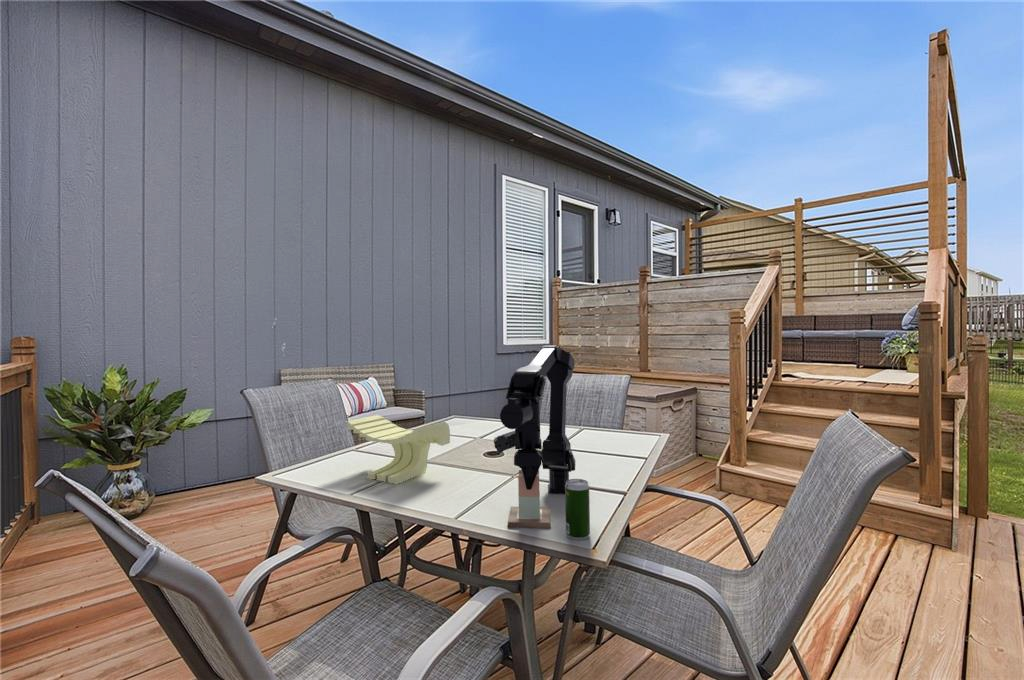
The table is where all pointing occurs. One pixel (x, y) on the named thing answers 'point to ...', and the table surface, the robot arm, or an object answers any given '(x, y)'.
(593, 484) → the table surface
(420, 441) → the slatted curved stool
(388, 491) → the table surface
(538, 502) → the brick sage
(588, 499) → the beer can
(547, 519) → the tower base
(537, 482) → the dusty pink cube
